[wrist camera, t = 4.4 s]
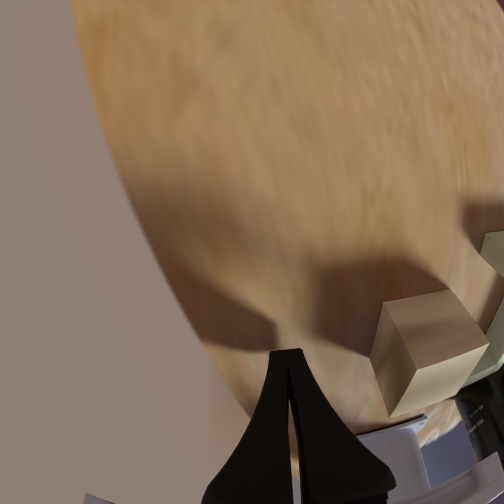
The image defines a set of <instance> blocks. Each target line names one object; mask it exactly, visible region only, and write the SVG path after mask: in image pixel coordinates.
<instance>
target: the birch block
mask: <svg viewBox="0 0 504 504" xmlns="http://www.w3.org/2000/svg"><path fill="white" fill-rule="evenodd" d="M489 343H490V342H489V341H488V339H487V338H486V336H485V335H484V333H483V332H482V330H481V329H480V328H479V326H478V325H477V323H476V322H475V321H474V319H473V318H472V316H471V315H470V314H469V312H468V311H467V310H466V308H465V307H464V306H463V304H462V303H461V302H460V301H459V299H458V298H457V297H456V295H455V294H454V293H453V292H452V290H451V289H446V290H442V291H437V292H433V293H428V294H423V295H418V296H413V297H408V298H403V299H398V300H392V301H387V302H383V305H382V310H381V314H380V319H379V323H378V327H377V331H376V335H375V339H374V342H373V346H372V350H371V353H370V357H369V359H370V361H371V364H372V367H373V370H374V373H375V376H376V379H377V382H378V385H379V388H380V391H381V394H382V397H383V400H384V403H385V406H386V409H387V413H388V416H389V418H392V417H395V416H399V415H402V414H405V413H408V412H411V411H414V410H417V409H420V408H423V407H426V406H429V405H431V404H434V403H437V402H439V401H442V400H444V399H447V398H449V397H451V396H454V395H456V393H457V392H458V391H459V389H460V388H461V387H462V385H463V384H464V382H465V381H466V380H467V378H468V377H469V375H470V374H471V372H472V371H473V369H474V368H475V366H476V365H477V363H478V362H479V360H480V358H481V357H482V355H483V354H484V352H485V350H486V349H487V347H488V345H489Z"/></svg>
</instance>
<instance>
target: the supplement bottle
mask: <svg viewBox="0 0 504 504" xmlns="http://www.w3.org/2000/svg"><path fill="white" fill-rule="evenodd" d="M455 403H456V406H457V408H458V411H459V413H460V416H461V418H462V421H463V423H464V426H465V429H466V431H467V434H468V437H469V439H470V442H471V445H472V448H473V451H474V454H475V457H476V460H477V463H479V462H480V461H482V460H484V459H485V458H487V457H488V456H490V455H491V454H493V453H494V452H497V453H498V455H499V458H500V461H501V465H502V468H503V471H504V363H503V365H502V366H501V367H500V369H499V370H497V371H495V372H493V373H492V374H490V375H488V376H486V377H484V378H482V379H480V380H478V381H476V382H474V383H471V384H469V385H467V386H465V387H463V388H461V389H460V390H459V391H458V393H457V395H456V398H455Z"/></svg>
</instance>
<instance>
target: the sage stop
mask: <svg viewBox="0 0 504 504" xmlns="http://www.w3.org/2000/svg"><path fill="white" fill-rule="evenodd" d="M480 256H481V257H482V258H483V259H484V260H486V261H487V262H488V263H489V264H490V265H491V266H492V267H493V268H494V269H495V270H496V271H497V272H498V273H499V274H500V275H501V276H502V277H503V278H504V231H498V232H489V233H485V236H484V240H483V244H482V248H481V251H480ZM485 336H486V338H487V339H488V341H489V342H490V343H489V345H488V347H487V349H486V350H485V352H484V354H483V355H482V357H481V358H480V360H479V362H478V363H477V365H476V366H475V368H474V369H473V371H472V372H471V374H470V375H469V377H468V378H467V380H466V381H465V382H464V384H463V385H462V387H461V388H463V387H465V386H467V385H469V384H471V383H474V382H476V381H478V380H480V379H482V378H484V377H486V376H488V375H490V374H492V373H493V372H495V371H497V370H499V369H500V367H501V366H502V365H503V363H504V297H503V300H502V302H501V304H500V306H499V309H498V311H497V313H496V315H495V317H494V319H493V321H492V323H491V325H490V327H489V329H488V331H487V333H486V335H485Z"/></svg>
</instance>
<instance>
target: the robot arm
mask: <svg viewBox="0 0 504 504" xmlns="http://www.w3.org/2000/svg"><path fill="white" fill-rule="evenodd" d="M289 400H290V405H291V410H292V415H293V421H294V426H295V431H296V437H297V444H298V457H299V471H300V488H301V504H488V503H489V502H490V501H492V500H493V499H494V498H496V497H497V496H499V495H500V494H501V493H502V492H504V471H503V468H502V465H501V461H500V458H499V455H498V453H497V452H494V453H493V454H491V455H490V456H488V457H487V458H485V459H484V460H482V461H480V462H479V463H477V464H476V465H474V466H473V467H471V468H470V469H468V470H467V471H465V472H463V473H461V474H459V475H458V476H456V477H454V478H452V479H450V480H448V481H446V482H444V483H442V484H440V485H438V486H435V487H433V488H430V483H429V479H428V475H427V472H426V468H425V464H424V461H423V457H422V454H421V450H420V447H419V444H418V440H417V437H416V434H415V433H416V432H417V431H418V430H419V429H420V428H421V427H422V426H423V424H424V423H425V422H426V421H427V420H428V418H427V416H424V417H421V418H418V419H415V420H412V421H409V422H406V423H403V424H400V425H397V426H393V427H390V428H386V429H383V430H379V431H375V432H371V433H367V434H363V435H359V436H355V435H354V434H353V433H352V432H351V431H350V430H349V429H348V427H347V426H346V425H345V424H344V423H343V421H342V420H341V419H340V417H339V416H338V415H337V413H336V412H335V411H334V409H333V408H332V406H331V405H330V404H329V402H328V400H327V399H326V397H325V396H324V394H323V393H322V391H321V389H320V387H319V386H318V384H317V382H316V380H315V378H314V376H313V375H312V372H311V370H310V368H309V366H308V364H307V361H306V359H305V356H304V353H303V350H302V349H301V348H296V349H287V350H277V351H271V352H270V353H269V364H268V369H267V374H266V379H265V382H264V386H263V389H262V392H261V395H260V398H259V401H258V404H257V406H256V409H255V411H254V414H253V416H252V418H251V421H250V423H249V425H248V427H247V429H246V431H245V433H244V435H243V436H242V438H241V440H240V442H239V444H238V446H237V447H236V449H235V450H234V452H233V453H232V455H231V456H230V458H229V459H228V461H227V462H226V464H225V465H224V466H223V468H222V469H221V470H220V472H219V473H218V474H217V475H216V476H215V478H214V479H213V480H212V481H211V482H210V484H209V485H208V487H207V489H206V491H205V493H204V496H203V498H202V503H201V504H294V503H293V489H292V474H291V461H290V448H289V435H288V415H289ZM83 504H115V503H112V502H109V501H107V500H104V499H101V498H98V497H96V496H93V495H91V494H88V493H85V496H84V501H83Z"/></svg>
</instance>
